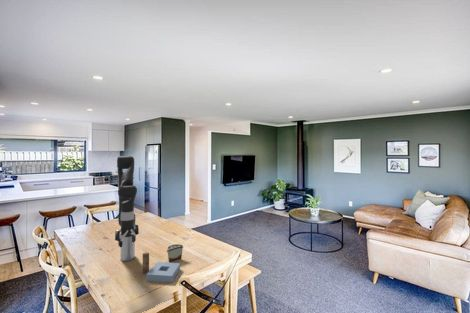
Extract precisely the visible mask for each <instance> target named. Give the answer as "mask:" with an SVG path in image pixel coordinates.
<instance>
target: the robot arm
mask: <svg viewBox="0 0 470 313" xmlns="http://www.w3.org/2000/svg"><path fill="white" fill-rule="evenodd" d="M116 165H117V177H118V179H117V180H118V181H117V182H118V185H117V188H118V189H117V195H118V218H117V222H118V225H119V226H120V229H119V230H117V229H116V230H115V233H114V234H115V236H114V241H117V242H118V247H119V248H120V261H122V262H128V261H131V260H133V259H135V250H136V249H135V246H136V245H135V244H136V241H137V237H136V236H137V235H139V233H140V232H139V231H140V230H139V225H138V224H136V214H135V210H134V209H135V208H134V207H135V199H136V195H137V193H138V188H137V187H136V185H134V171H135V158H134V157H133V156H132V155H125V156H123V155H122V156H121V155H120V156H118V157H117V160H116ZM124 170H125V171H124ZM123 171H124V172H123Z"/></svg>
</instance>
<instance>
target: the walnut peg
mask: <svg viewBox="0 0 470 313" xmlns="http://www.w3.org/2000/svg"><path fill="white" fill-rule="evenodd" d="M141 271H142V274H145V275H146V274H147V273H148V272H149V271H150V253H149V252H143V253H142V270H141Z"/></svg>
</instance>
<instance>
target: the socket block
mask: <svg viewBox="0 0 470 313" xmlns="http://www.w3.org/2000/svg"><path fill="white" fill-rule="evenodd" d="M180 270H181V262H180V263H179V262H171V263H169V262H165V261H164V262H163V261H156V263H154V265H153V266H152V267H151V268H149V272H148V273H146V274H145V280H146V282H156V283H157V282H159V283H160V282H161V283H173V281H174V279H175V278H176V277H177V275H178V273H179V271H180Z"/></svg>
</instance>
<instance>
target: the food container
mask: <svg viewBox="0 0 470 313" xmlns="http://www.w3.org/2000/svg"><path fill="white" fill-rule="evenodd" d="M183 249H184V245H183V244H177V243H176V244H171V245H169V246H168V247H167V248H166V252H167V258H168V259H167V260H168V263H176V262H177V261H180V260H182V257H183V256H182V255H183Z"/></svg>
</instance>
